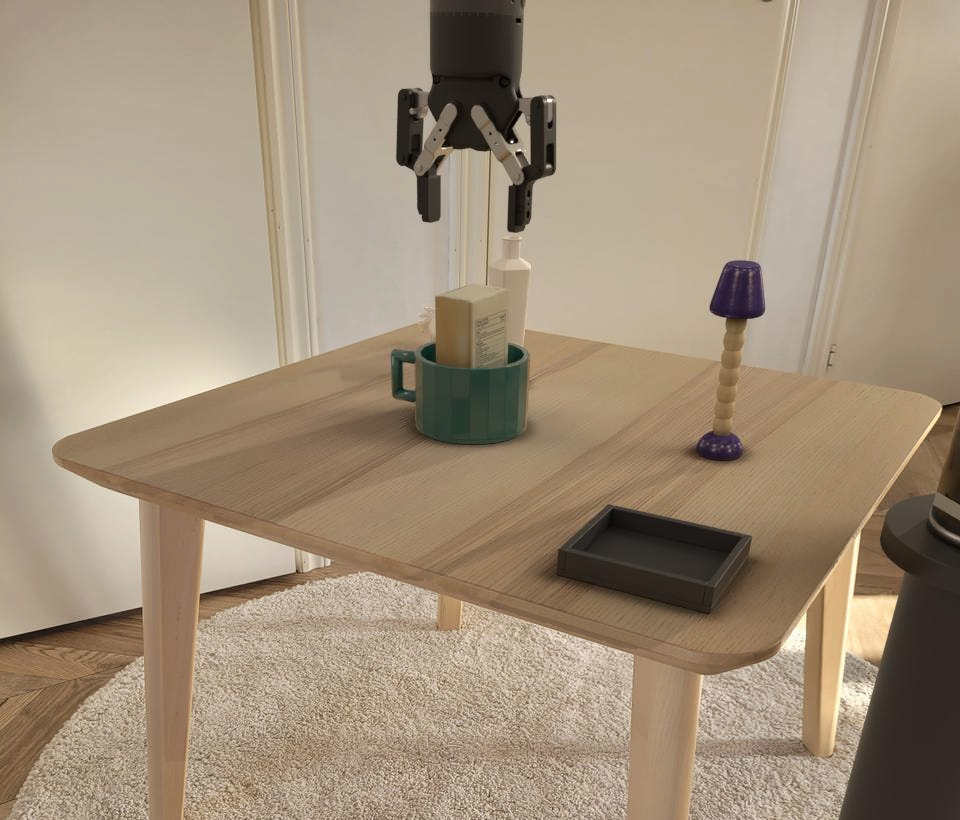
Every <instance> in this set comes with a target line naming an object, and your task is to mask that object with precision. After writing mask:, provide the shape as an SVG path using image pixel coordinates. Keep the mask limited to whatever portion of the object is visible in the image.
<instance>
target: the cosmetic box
mask: <svg viewBox="0 0 960 820" xmlns="http://www.w3.org/2000/svg"><path fill="white" fill-rule="evenodd" d="M434 308H435V322H436V324H435V325H436V340H435V341H436V363H437V364H442V365H447V366H453V367H466V368H488V367H496V366H503V365H507V364H508V324H509V322H508V321H509V290H508V289H503V288H498V287H492V286H489V285H485V284H480V283H469V284H467V285H463V286H460V287H457V288H454V289H450V290H448V291H445V292H442V293H439V294H436V295H434Z"/></svg>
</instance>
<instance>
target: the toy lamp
mask: <svg viewBox="0 0 960 820" xmlns="http://www.w3.org/2000/svg"><path fill="white" fill-rule="evenodd" d="M765 297H766V296H765V289H764V279H763V271H762V266H761V265H760V263H759V262H756V261H753V260H745V259H744V260H743V259H735V260H730V261H727V262H726V263H725V264H724V266H723V267H722V270H721V273H720V276H719V278H718V281H717V283H716V287H715V289H714V292H713V294H712V297H711V300H710V303H709V307H708V308H709V312H710V313H711V314H713V315H714V316H716V317H720V318H725V321H724V322H725V330H726V331H725V333H724V336H723V340H722V341H723V342H722V343H723V347H724V349H723V350H722V352H721V356H720V357H721V358H720V360H721V361H720V362H721V367H720V369H719V373H718V381H719V383H718V386H717V388H716V398H717V400H716V402H715V405H714V415H715V417H714V418H713V420H712V426H711V427H712V428H711V429H712V430H710V431H708V432H706V433H704V434H703V435H702V436H701V437H700V438H699V439H698V442H697V444H696V446H695V451H696V453H697V454H698V455H700V456H702V457H704V458H707V459H710V460H717V461H733V460H736V459H739V458H740V457H742V456H743V454H744V448H743V443H742V441H741V439H740V437H739V436H738V435H736V434H735V433H733V432H732V430H733V425H734V422H733V418H732V417H733V416H734V414H735V412H736V411H735V409H736V404H735V399H737V396H738V385H737V384H738V382H739V380H740V377H741V370H740V366H741V364H742V361H743V352H742V349H743V348H744V345H745V341H746V340H745V339H746V338H745V332H744V331H745V330H746V328H747V325H748V320H755V319H758V318H760V317H761V316H764V315H765V312H766V299H765Z"/></svg>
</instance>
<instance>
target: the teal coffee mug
mask: <svg viewBox="0 0 960 820" xmlns="http://www.w3.org/2000/svg"><path fill="white" fill-rule="evenodd" d="M404 363H405V364H409V365H410V364H411V365H413V371H414V373H413V374H414V376H413V377H414V379H413V380H414V381H413V382H414V389H409V388H405V385H404ZM530 372H531V353H530V352H529V350H528V349H527V348H525V347H524V346H523V347H521V346H519V345H516V344H513V343H509V342H508V364H507V365H503V366H496V367H488V368H466V367H453V366H447V365H442V364H437V363H436V340H435V341H434V342H430V341H429V342H427V343H424V344H422V345H419V346H417V348H416V349H415V350H409V349H403V348H398V347H397V348H393V349H392V350H391V351H390V375H391V376H390V380H391V384H390V385H391V397H392V398H393V399H394V400H396V401H397V400H398V401H401V402H402V401H403V402H408V403H414V420H415V427H416V429H417V431H418V432H419V433H421V434H422V435H424V436H426V437H428V438H430V439H433V440H437V441H440V442H444V443H451V444H459V445H488V444H496V443H503V442H506V441H510V440H513V439H515V438H517V437H519V436H521V435H522V434H524V433H525V431H526V429H527V425H528V419H529V417H528V415H529V394H530V375H531V373H530Z"/></svg>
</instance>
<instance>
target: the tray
mask: <svg viewBox="0 0 960 820" xmlns="http://www.w3.org/2000/svg"><path fill="white" fill-rule="evenodd" d="M752 539H753V535H750V534H746V533H745V534H744V533H742V532H737V531H732V530H727V529H725V528H724V529H723V528H719V527H714V526H711V525H706V524H702V523H697V522H692V521H688V520H682V519H678V518H675V517H669V516H665V515H662V514H661V515H660V514H656V513H652V512H646V511H642V510H638V509H633V508H629V507H624V506H619V505H615V504H610V503H607V504H606V505H605V506H603V508H602V509H601V510H600V511H598V512H597V513H596V514H595V515H594V516H593V517H592V518H591V519H589V521H587V522H586V523H585V524H584V525H583V526H582V527H581V528H580V529H579V530H577V532H575V533H574V534H573V535H572V536H571V537H570V538H569V539H568V540H567V541H566V542H565V543H564V544H563V545H562V546H560V547H559V548H558V549H557V561H556V562H557V563H556V575H557V576H560V577H565V578H569V579H572V580H577V581H581V582H585V583H587V584H592V585H597V586H600V587H604V588H608V589H613V590H616V591H619V592H624V593H627V594H632V595H634V596H640V597H643V598H647V599H651V600H655V601H659V602H662V603H667V604H670V605H674V606H678V607H681V608H686V609H690V610H694V611H697V612H701V613H705V614H712V612H713V610H715V608H716V606H717V605H718V603H719V602H720V601H721V599H723V596H724V595H725V594H726V592H727V591H728V589H729V588H730V586H731V585H732V584H733V582H734V580H735V579H736V578H737V576H738V575H739V573H740V572H741V571H742V569H743V568H744V566H745V565H746V563H747V562H749V557H750V551H751V545H752V541H753V540H752Z"/></svg>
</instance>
